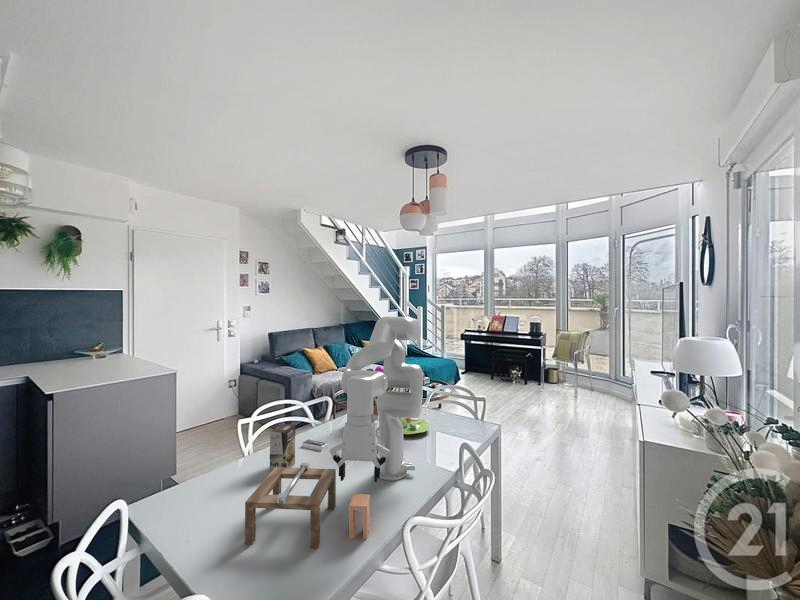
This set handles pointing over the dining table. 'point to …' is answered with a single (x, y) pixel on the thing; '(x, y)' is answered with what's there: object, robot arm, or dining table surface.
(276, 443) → the coffee box
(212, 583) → the dining table surface
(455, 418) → the dining table surface
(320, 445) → the multiport hub
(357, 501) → the slotted peach block
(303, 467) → the metal guide rod
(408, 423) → the flower ornament
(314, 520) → the open wooden frame
